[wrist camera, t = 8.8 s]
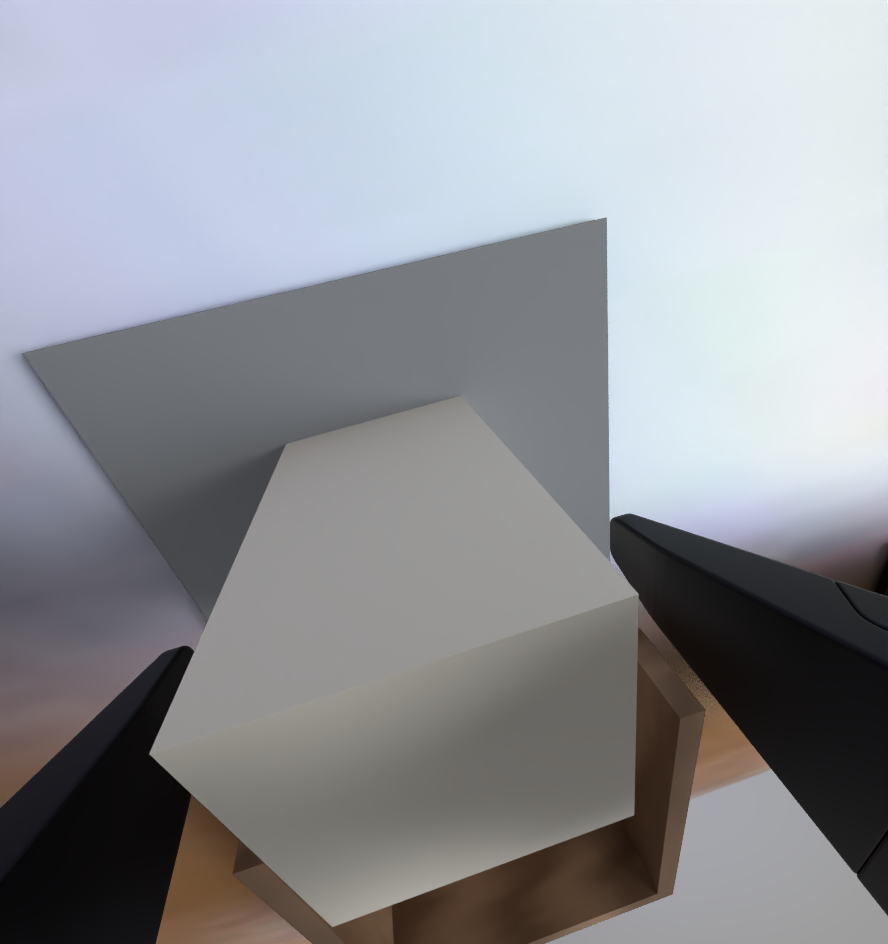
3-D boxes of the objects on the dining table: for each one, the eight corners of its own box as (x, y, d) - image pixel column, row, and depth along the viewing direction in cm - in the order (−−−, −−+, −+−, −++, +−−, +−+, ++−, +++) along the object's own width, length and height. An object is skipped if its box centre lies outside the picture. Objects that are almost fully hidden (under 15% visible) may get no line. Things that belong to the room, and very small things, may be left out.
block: (460, 395, 11) (639, 594, 4) (489, 534, 13) (634, 815, 6) (286, 443, 11) (149, 754, 4) (346, 578, 13) (332, 926, 6)
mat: (598, 219, 10) (606, 217, 10) (604, 567, 16) (610, 573, 15) (35, 350, 9) (22, 353, 9) (254, 675, 15) (252, 684, 14)
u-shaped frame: (636, 624, 18) (705, 710, 14) (630, 811, 26) (672, 894, 23) (259, 746, 16) (232, 874, 13) (379, 902, 25) (383, 1005, 21)
